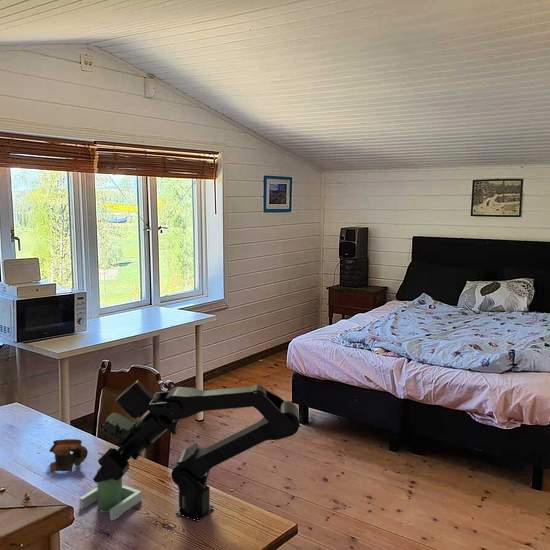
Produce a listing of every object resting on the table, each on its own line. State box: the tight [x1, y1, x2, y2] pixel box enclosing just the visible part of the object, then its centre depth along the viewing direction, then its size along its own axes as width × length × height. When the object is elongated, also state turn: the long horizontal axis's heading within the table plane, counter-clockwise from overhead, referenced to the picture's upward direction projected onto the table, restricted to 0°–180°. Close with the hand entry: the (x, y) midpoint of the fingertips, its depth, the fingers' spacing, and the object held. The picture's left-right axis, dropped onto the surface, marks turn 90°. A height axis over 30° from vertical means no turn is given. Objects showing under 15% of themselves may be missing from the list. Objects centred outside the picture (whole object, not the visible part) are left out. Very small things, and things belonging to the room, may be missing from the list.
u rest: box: [79, 484, 143, 521], centre depth 132 cm, size 10×10×2 cm
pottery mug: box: [48, 438, 89, 472], centre depth 151 cm, size 12×10×8 cm
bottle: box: [96, 466, 123, 512], centre depth 131 cm, size 6×6×12 cm
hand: (103, 471), depth 131 cm, fingers open, 9 cm apart
